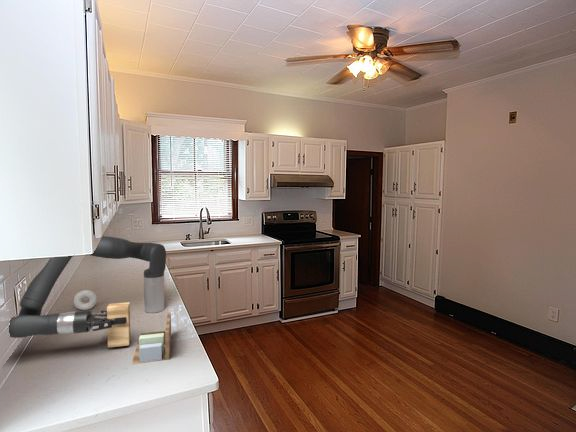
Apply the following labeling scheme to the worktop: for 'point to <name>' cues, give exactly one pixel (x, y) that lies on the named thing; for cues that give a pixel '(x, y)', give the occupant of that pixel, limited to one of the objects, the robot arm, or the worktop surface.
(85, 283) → the worktop surface
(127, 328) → the light brown wooden block
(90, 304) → the donut
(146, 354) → the offcut
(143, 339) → the offcut
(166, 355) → the rack
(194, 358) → the worktop surface
